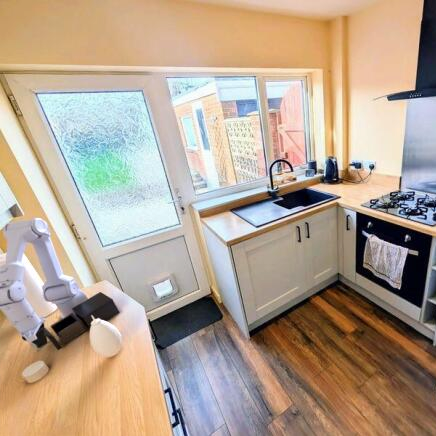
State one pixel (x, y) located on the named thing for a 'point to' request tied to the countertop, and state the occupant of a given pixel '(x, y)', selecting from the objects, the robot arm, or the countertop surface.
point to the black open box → (63, 331)
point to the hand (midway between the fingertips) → (43, 344)
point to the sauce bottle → (105, 338)
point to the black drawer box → (96, 309)
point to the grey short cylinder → (35, 371)
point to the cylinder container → (33, 289)
